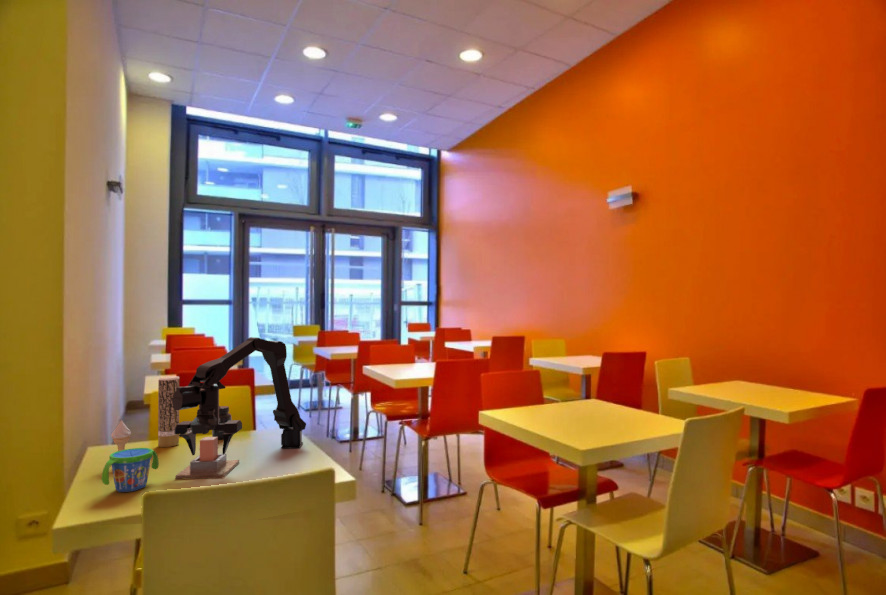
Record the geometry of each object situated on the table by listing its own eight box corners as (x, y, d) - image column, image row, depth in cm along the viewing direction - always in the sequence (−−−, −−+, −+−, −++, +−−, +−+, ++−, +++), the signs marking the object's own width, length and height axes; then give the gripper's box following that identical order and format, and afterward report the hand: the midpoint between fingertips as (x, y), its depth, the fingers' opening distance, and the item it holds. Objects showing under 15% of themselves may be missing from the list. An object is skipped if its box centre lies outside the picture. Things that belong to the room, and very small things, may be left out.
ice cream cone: (109, 469, 160) (110, 422, 160) (111, 465, 165) (112, 418, 165) (130, 467, 163) (130, 420, 163) (132, 462, 168) (132, 416, 168)
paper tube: (182, 444, 189) (183, 377, 190) (164, 448, 183) (164, 379, 184) (172, 441, 193) (172, 375, 193) (154, 446, 187) (154, 378, 187)
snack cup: (147, 477, 153) (147, 443, 154) (169, 482, 148) (169, 447, 149) (91, 494, 140) (91, 457, 140) (113, 501, 135) (113, 462, 135)
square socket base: (239, 463, 167) (239, 450, 167) (223, 477, 153) (223, 464, 153) (194, 464, 166) (194, 451, 166) (175, 478, 152) (175, 465, 152)
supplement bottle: (224, 440, 194) (224, 409, 194) (208, 439, 196) (208, 408, 196) (235, 436, 201) (235, 405, 201) (219, 435, 202) (219, 405, 202)
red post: (217, 465, 161) (217, 436, 161) (213, 469, 157) (213, 440, 157) (204, 465, 161) (204, 437, 161) (199, 469, 157) (199, 440, 157)
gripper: (166, 410, 151) (165, 463, 151) (230, 409, 152) (230, 461, 152) (182, 403, 162) (182, 452, 162) (242, 402, 163) (242, 451, 163)
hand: (208, 454), depth 159 cm, fingers open, 9 cm apart
